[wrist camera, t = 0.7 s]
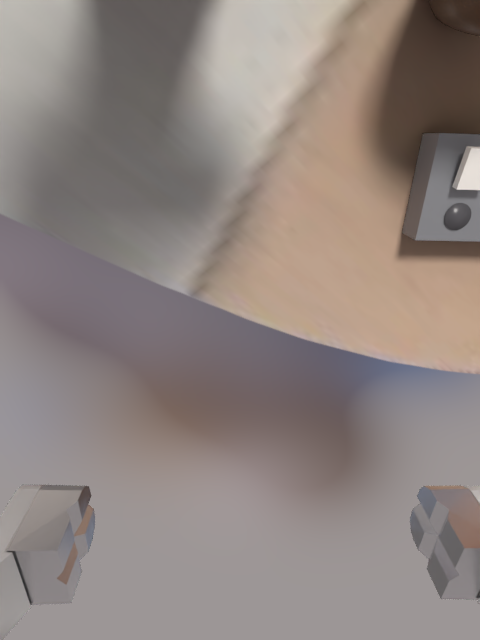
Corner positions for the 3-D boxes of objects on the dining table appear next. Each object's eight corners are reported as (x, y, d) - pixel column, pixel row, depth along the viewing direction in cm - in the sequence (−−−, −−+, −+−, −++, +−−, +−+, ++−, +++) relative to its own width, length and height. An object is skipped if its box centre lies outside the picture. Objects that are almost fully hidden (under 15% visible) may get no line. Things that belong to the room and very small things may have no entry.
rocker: (465, 145, 42) (471, 148, 41) (495, 146, 42) (502, 149, 41) (451, 186, 45) (456, 189, 44) (479, 186, 45) (486, 190, 44)
